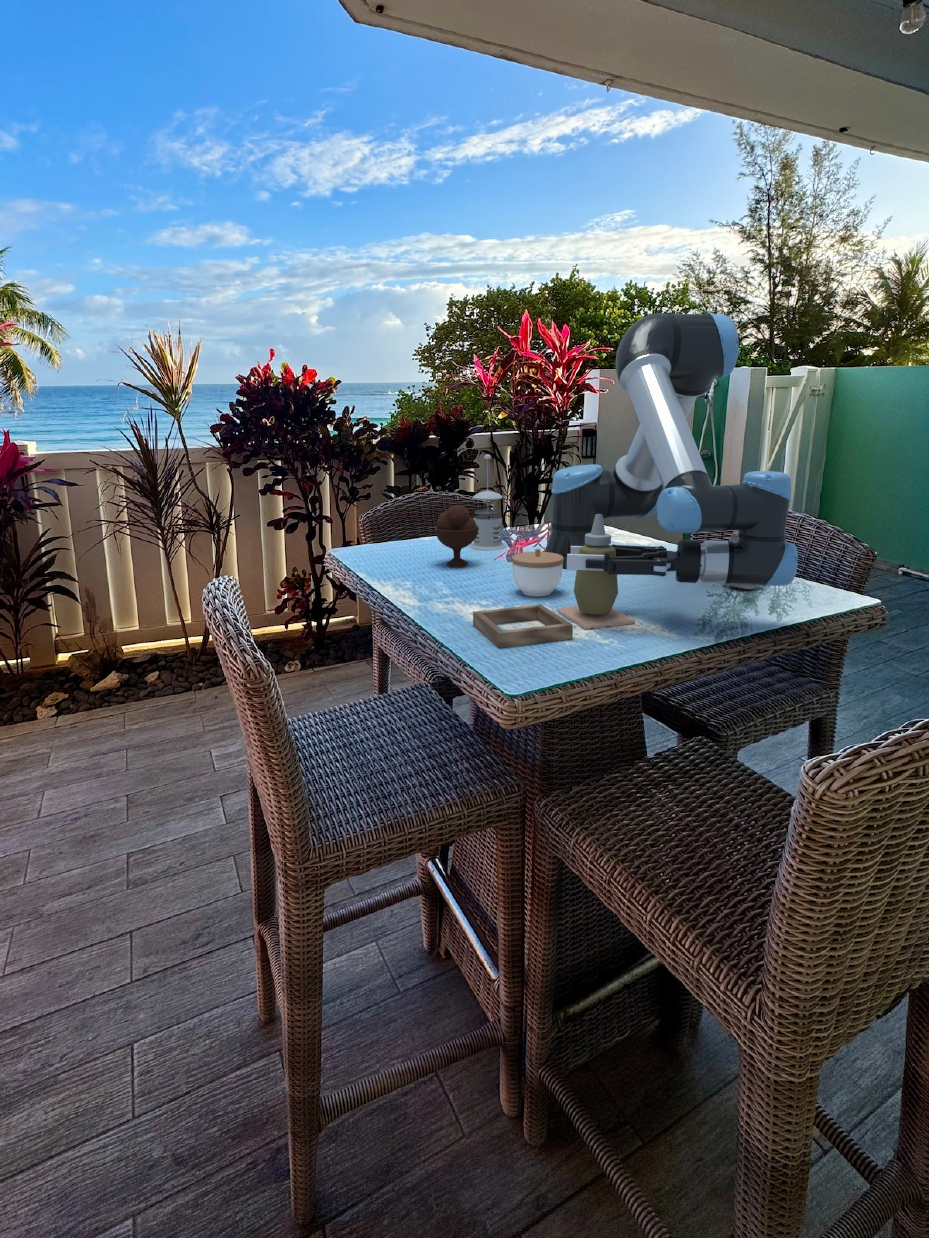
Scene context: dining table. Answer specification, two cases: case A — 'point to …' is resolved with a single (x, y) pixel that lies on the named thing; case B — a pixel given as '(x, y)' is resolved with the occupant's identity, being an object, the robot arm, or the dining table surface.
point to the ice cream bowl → (456, 532)
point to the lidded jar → (537, 572)
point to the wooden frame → (551, 632)
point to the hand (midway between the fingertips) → (569, 557)
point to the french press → (488, 521)
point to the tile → (595, 618)
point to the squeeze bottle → (596, 574)
